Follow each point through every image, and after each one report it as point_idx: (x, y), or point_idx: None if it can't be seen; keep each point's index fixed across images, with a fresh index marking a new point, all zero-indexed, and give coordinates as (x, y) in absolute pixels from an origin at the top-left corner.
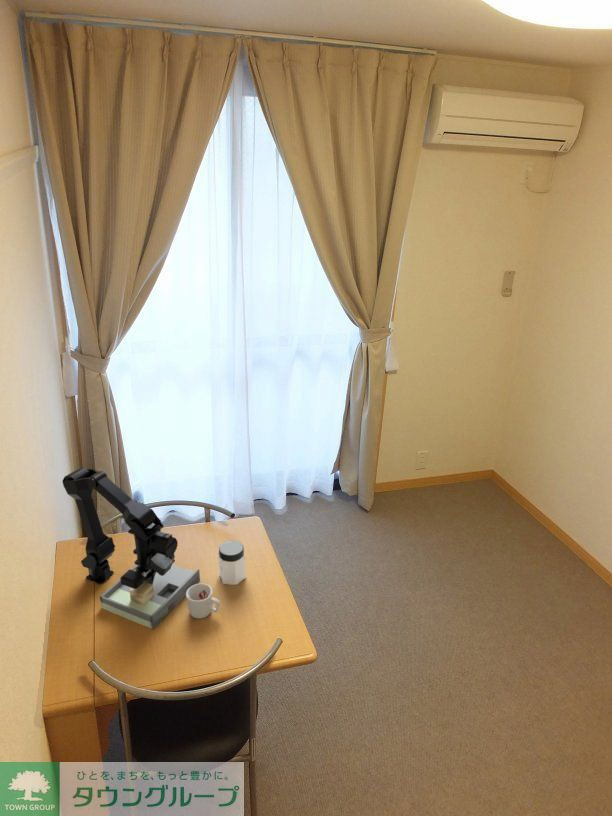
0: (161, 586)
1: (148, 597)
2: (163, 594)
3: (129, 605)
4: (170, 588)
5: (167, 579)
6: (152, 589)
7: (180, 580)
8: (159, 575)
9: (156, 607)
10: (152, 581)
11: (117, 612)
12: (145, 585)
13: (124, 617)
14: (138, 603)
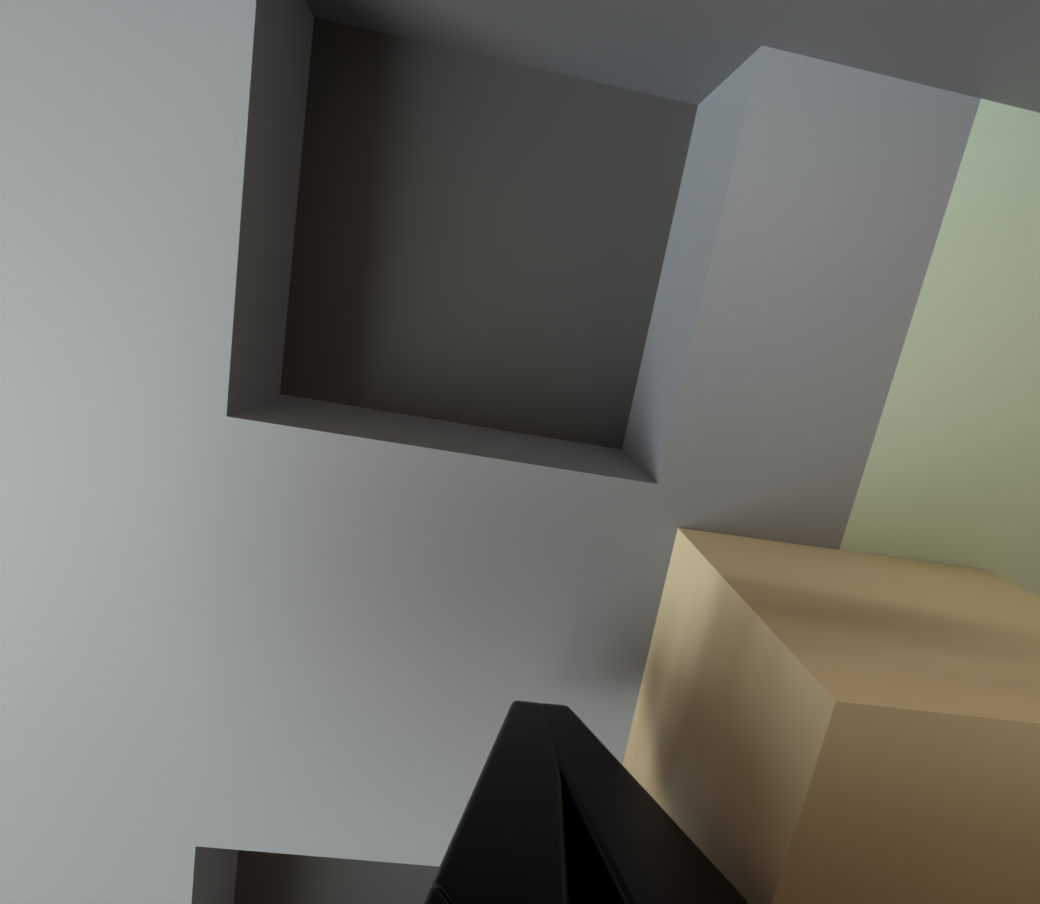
0: (391, 510)
1: (895, 582)
2: (461, 413)
3: None
4: (279, 359)
5: (131, 494)
6: (795, 619)
7: (14, 149)
8: (92, 718)
9: (1019, 293)
10: (538, 786)
11: None
12: (898, 901)
13: None
14: None
